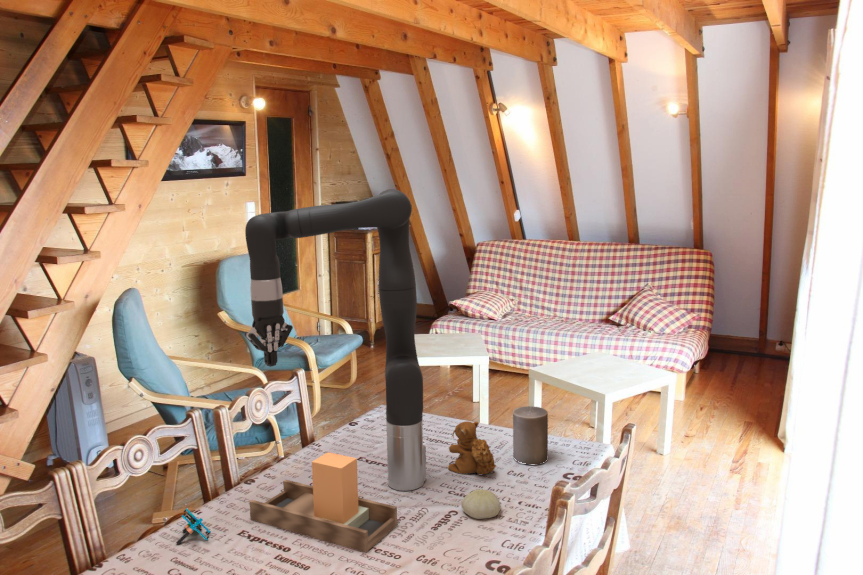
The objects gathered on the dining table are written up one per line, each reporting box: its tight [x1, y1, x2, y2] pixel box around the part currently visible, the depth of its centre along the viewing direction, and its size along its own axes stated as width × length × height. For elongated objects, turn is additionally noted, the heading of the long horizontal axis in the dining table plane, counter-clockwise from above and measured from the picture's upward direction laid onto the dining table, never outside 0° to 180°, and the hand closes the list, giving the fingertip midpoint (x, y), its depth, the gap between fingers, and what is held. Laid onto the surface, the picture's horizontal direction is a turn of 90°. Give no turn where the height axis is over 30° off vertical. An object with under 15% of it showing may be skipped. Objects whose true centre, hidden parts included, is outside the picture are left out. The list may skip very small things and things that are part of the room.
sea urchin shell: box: [461, 489, 502, 520], centre depth 165 cm, size 9×8×8 cm
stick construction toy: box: [175, 508, 212, 546], centre depth 156 cm, size 12×7×8 cm
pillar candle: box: [512, 405, 549, 465], centre depth 194 cm, size 10×10×15 cm
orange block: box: [311, 451, 359, 524], centre depth 158 cm, size 8×6×13 cm
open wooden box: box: [249, 479, 398, 554], centre depth 161 cm, size 32×13×4 cm, turn 62°
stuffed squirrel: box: [447, 420, 497, 475], centre depth 187 cm, size 10×14×13 cm
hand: (271, 365), depth 173 cm, fingers closed
